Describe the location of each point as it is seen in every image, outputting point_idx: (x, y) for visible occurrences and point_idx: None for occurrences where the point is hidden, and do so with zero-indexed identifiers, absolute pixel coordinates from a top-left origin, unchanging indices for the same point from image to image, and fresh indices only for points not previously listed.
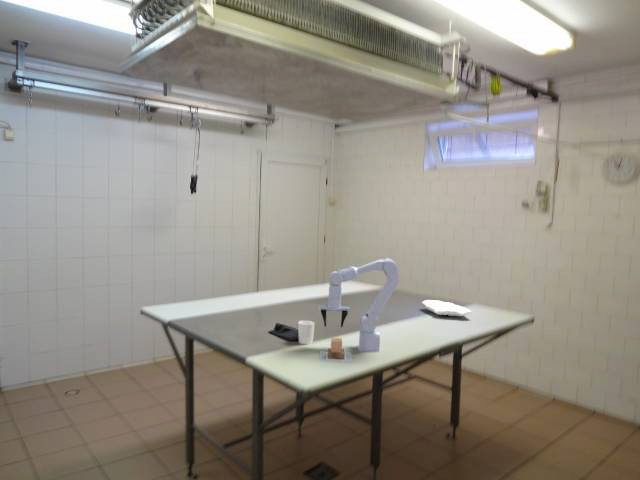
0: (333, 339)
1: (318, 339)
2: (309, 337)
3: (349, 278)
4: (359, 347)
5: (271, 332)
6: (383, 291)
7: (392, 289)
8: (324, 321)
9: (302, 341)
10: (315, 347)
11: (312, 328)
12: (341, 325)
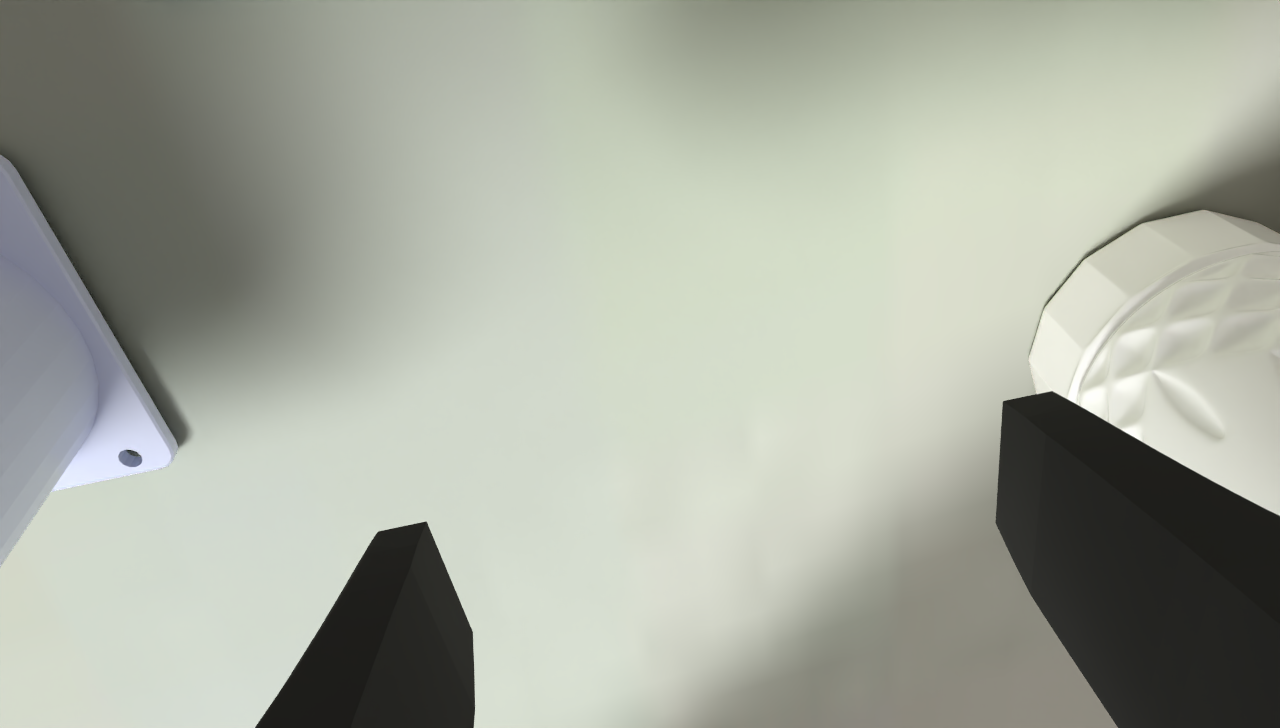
0: None
1: (918, 555)
2: (1195, 311)
3: None
4: (36, 302)
5: None
6: None
7: None
8: (1213, 492)
9: (1277, 237)
10: (984, 131)
11: (1275, 471)
12: (399, 559)
